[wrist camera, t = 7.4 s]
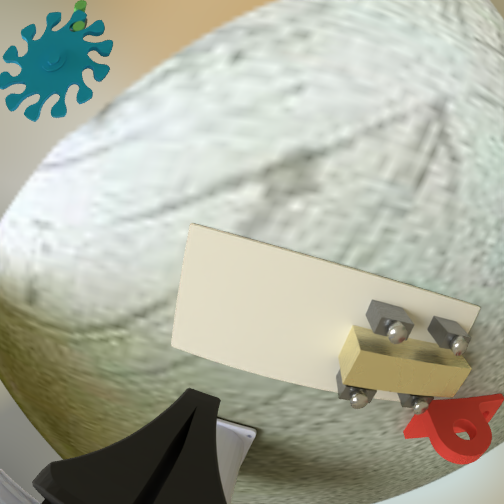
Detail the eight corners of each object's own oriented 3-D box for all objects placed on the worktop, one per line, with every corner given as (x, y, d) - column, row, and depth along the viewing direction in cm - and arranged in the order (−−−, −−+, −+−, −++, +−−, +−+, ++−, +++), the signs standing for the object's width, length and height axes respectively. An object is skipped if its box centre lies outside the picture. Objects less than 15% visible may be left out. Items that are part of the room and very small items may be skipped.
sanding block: (439, 374, 18) (452, 397, 15) (338, 356, 19) (342, 384, 16) (455, 347, 17) (471, 368, 14) (352, 325, 18) (360, 350, 15)
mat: (423, 400, 20) (424, 403, 19) (172, 343, 21) (171, 345, 21) (478, 305, 17) (480, 307, 16) (192, 223, 19) (190, 223, 18)
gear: (85, 130, 17) (-23, 110, 10) (82, 137, 21) (-6, 119, 15) (140, 13, 15) (41, -11, 9) (125, 38, 19) (42, 18, 13)
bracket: (403, 431, 21) (419, 490, 13) (422, 399, 20) (448, 462, 12) (481, 421, 19) (503, 466, 12) (500, 392, 18) (529, 437, 11)
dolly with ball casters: (417, 389, 19) (428, 415, 16) (335, 376, 20) (339, 406, 16) (456, 321, 17) (476, 343, 14) (371, 299, 18) (384, 322, 14)
